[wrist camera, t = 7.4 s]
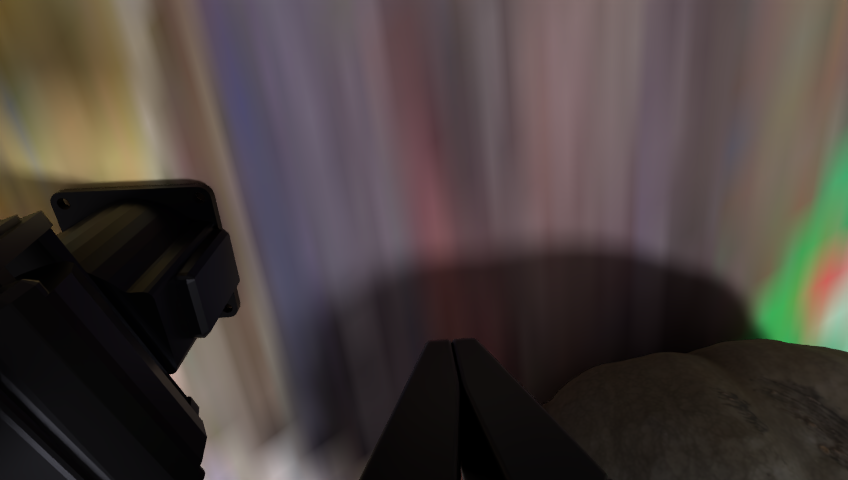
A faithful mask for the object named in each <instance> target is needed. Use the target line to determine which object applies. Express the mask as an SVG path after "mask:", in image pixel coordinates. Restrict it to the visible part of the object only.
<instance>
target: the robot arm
mask: <svg viewBox="0 0 848 480" xmlns="http://www.w3.org/2000/svg"><path fill="white" fill-rule="evenodd" d="M196 192H199V193H202V194H203V195H204V197H205V200H200V199H199V198H198V197H197V195H196ZM63 198H64V199H66V200H68V201H69V203H70V206H68V205H67V204H65V202H64V201H63ZM50 201H51V205H52V208H53V210H54V213H55V215H56V218H57V220H58V223H59V225H60V228H61V230H62V232H61V233H60V234H58V235H56V234H55V233H54V232H53V230H52V229H51V227H52V226H53V225H52V223H51V222H50V221H49V220H48V218H47V217H46V216H45V215H44V213H43V212H42V211H38V212H36V213H33V214H31V215H28V216H26V217H23V218H21V219H20V218H19V217H18V216H17V215H15V216H12V217H9V218H6V219H4V220H0V480H203V479H204V476H205V471H204V470H203V468H202V467H201V466H200V465H201V462H202V459H203V454H204V449H205V444H206V439H207V435H206V432H205V428H204V424H203V421H202V420H201V418H200V417H199V406H198V405H197V404H196V403H195V401H194V400H193V399H192V398H191V397H187V396H186V395H185V394H184V393H183V391H182V390H181V389H180V388H179V386H178V385H177V384H176V383H175V381H174V380H173V379H172V378H171V377H170V375H169V374H174V373H175V372H176V371H177V370H178V368H179V367H180V365H181V363H182V362H183V360H184V358H185V357H186V355H187V353H188V352H189V350H190V348H191V347H192V345H193V344H194V342H195V340H196V339H197V338H205V337H206V336H207V335H208V334H209V333H210V332H211V330H212V328H213V327H214V325H215V323H216V321H217V320H218V318H222V317H232V316H234V315H236V313H237V311H238V310H239V308H240V300H239V296H238V291H237V285H238V283H239V282H240V279H239V275H238V270H237V266H236V262H235V257H234V253H233V249H232V244H231V240H230V236H229V233H227V232H226V231H225V230H224V229H223V228H222V224H221V220H220V216H219V212H218V207H217V203H216V199H215V195H214V192H213V190H212V189H211V188H210V187H209V186H207V185H205V184H200V183H198V184H175V185H152V186H128V187H105V188H82V189H64V190H60V191H59V192H57V193H55V194H54V195H53V196H52V197H51V200H50ZM226 304H229V305H231V306H232V308H228V307H226ZM461 472H462V477H463V480H613V479H611V478H609V479H608V474H607V473H606V472H605V471H604V470H603V469H602V468H601V467H600V466H599V465H598V464H597V463H596V462H595V461H594V460H593V459H592V457H591V456H590V455H589V454H588V453H587V452H586V451H585V450H584V449H583V448H582V447H581V446H580V445H579V444H578V443H577V442H576V441H575V440H574V439H573V438H572V437H571V436H570V435H569V434H568V433H567V432H566V431H565V430H564V429H563V428H562V427H561V426H560V425H559V424H558V423H557V421H556V420H555V419H554V418H553V417H552V416H551V415H550V414H549V413H548V412H547V411H546V410H545V409H544V408H543V407H542V406H541V405H540V404H539V403H538V402H537V401H536V400H535V399H534V398H533V397H532V396H531V395H530V394H529V393H528V392H527V391H526V390H525V389H524V388H523V387H522V385H521V384H520V383H519V382H518V381H517V380H516V379H515V378H514V377H513V376H512V375H511V374H510V373H509V372H508V371H507V370H506V369H505V368H504V367H503V366H502V365H501V364H500V363H499V362H498V361H497V360H496V359H495V358H494V357H493V356H492V355H491V354H490V353H489V352H488V351H487V350H486V348H485V347H484V346H483V345H482V344H481V343H480V342H479V341H478V340H477V339H475V338H462V339H454V340H453V341H452V343H451V341H450V340H448V339H445V340H430V341H428V342H427V343H426V345H425V347H424V349H423V351H422V353H421V355H420V357H419V359H418V361H417V363H416V365H415V367H414V369H413V371H412V373H411V375H410V377H409V379H408V381H407V383H406V385H405V387H404V389H403V392H402V394H401V396H400V398H399V400H398V402H397V404H396V406H395V408H394V410H393V412H392V414H391V416H390V418H389V420H388V422H387V424H386V426H385V428H384V430H383V432H382V434H381V436H380V438H379V441H378V443H377V445H376V447H375V449H374V451H373V453H372V455H371V457H370V459H369V461H368V463H367V465H366V467H365V469H364V471H363V473H362V475H361V477H360V479H359V480H461Z"/></svg>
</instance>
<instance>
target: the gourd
mask: <svg viewBox="0 0 848 480" xmlns="http://www.w3.org/2000/svg"><path fill="white" fill-rule="evenodd" d="M542 407H543V408H544V409H545V410H546V411H547V412H548V413H549V414H550V415H551V416H552V417H553V418H554V419H555V420H556V421H557V423H558V424H559V425H560V426H561V427H562V428H563V429H564V430H565V431H566V432H567V433H568V434H569V435H570V436H571V437H572V438H573V439H574V440H575V441H576V442H577V443H578V444H579V445H580V446H581V447H582V448H583V449H584V450H585V451H586V452H587V453H588V454H589V455H590V456H591V457H592V459H593V460H594V461H595V462H596V463H597V464H598V465H599V466H600V467H601V468H602V469H603V470H604V471H605V472H606V473H607V474H608V479H609V478H611V479H613V480H848V352H845V351H841V350H836V349H831V348H826V347H819V346H809V345H800V344H793V343H786V342H782V341H777V340H769V339H750V340H733V341H727V342H721V343H717V344H714V345H711V346H708V347H705V348H700V349H697V350H694V351H691V352H689V353H687V354H685V353H676V352H659V353H653V354H649V355H646V356H642V357H638V358H632V359H628V360H624V361H619V362H613V363H607V364H602V365H598V366H595V367H593V368H590V369H588V370H586V371H585V372H583V373H581V374H580V375H578V376H577V377H575V378H574V379H572V380H571V381H570V382H568V383H567V384H566V385H565V386H564V387H563V388H562V389H560V390H559V391H558V393H557V394H556V395H555V396H554V398H553V399H552V400H551V401H549V402H547V403H546V404H544V405H542Z"/></svg>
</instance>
